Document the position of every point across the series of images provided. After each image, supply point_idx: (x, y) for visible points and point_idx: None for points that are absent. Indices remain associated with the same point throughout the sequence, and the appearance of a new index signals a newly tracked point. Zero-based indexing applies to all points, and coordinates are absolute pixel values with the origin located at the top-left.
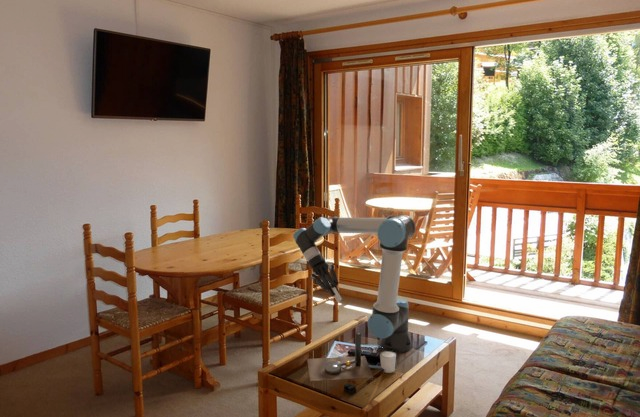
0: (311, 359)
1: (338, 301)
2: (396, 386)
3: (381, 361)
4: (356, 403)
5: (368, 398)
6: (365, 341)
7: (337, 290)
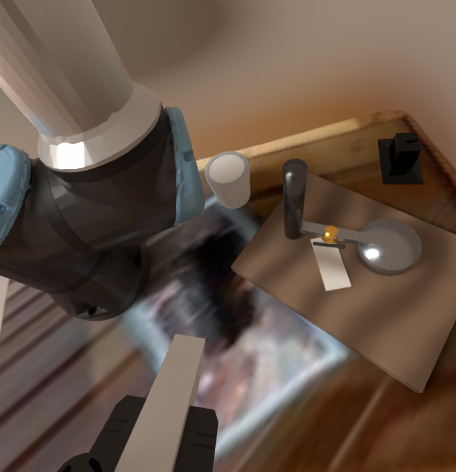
0: (406, 374)
1: (201, 364)
2: (279, 139)
3: (248, 182)
4: (405, 132)
5: (366, 134)
6: (128, 365)
7: (121, 425)
